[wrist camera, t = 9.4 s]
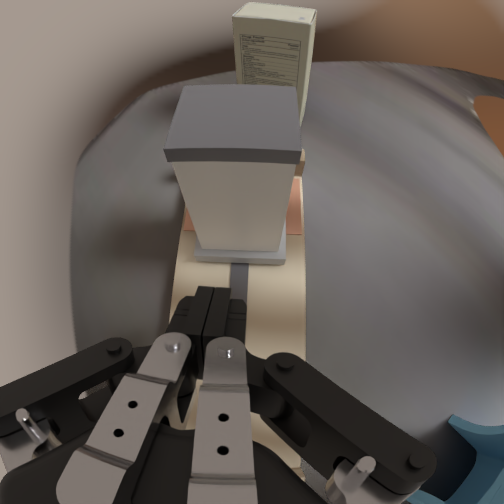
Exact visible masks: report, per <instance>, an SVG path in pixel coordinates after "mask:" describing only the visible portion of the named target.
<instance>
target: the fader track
mask: <svg viewBox="0 0 504 504" xmlns="http://www.w3.org/2000/svg"><path fill="white" fill-rule="evenodd" d="M304 164H305V153H304V150H302V154H301V159H300V163H299V165H297V164H296V168H295V173H294V178H293V183H292V188H291V193H290V198H289V203H288V208H287V213H286V261H285V264H284V265H278V264H252V263H229V262H206V261H196V259H195V257H194V250H195V242H196V231H195V228H194V226H193V223H192V220H191V217H190V215H189V212H188V209H187V206H186V204H185V210H184V216H183V222H182V228H181V234H180V241H179V247H178V254H177V261H176V268H175V276H174V284H173V292H172V300H171V309H170V319H169V323H170V321H171V318H172V316H173V315H174V312H175V310H176V307H177V305H178V303H179V301H180V300H181V299H183V298H184V297H185V296H195V293H196V290H197V288H198V286H211V287H227V288H232V299H243V300H244V302H245V304H246V305H247V321H246V340H245V347H246V349H247V350H248V351H249V352H250V353H251V354H252V355H254V356H256V357H259V358H263V359H267V358H268V357H269V356H270V355H272V354H274V353H279V352H288V353H292V354H295V355H297V356H299V357H300V358H301V359H303V360H304V361H305V351H306V279H305V239H304V213H303V193H302V173H303V168H304ZM202 383H203V380H199V379H197V381H196V391H197V394H196V398H195V401H194V404H193V407H192V410H191V413H190V417H189V420H188V423H187V426H186V429H185V430H190V429H195V426H196V416H197V406H198V396H199V388H200V385H202ZM250 413H251V429H252V440H253V441H255V442H258V443H260V444H262V445H264V446H266V447H268V448H269V449H271V450H272V451H273V452H275V453H276V454H277V455H278V456H279V457H280V458H281V459H282V460H283V461H284V462H285V463H286V464H287V465H288V466H289V467H290V468H291V469H292V470H293V471H294V472H295V473H296V474H297V475H298V476H299V477H300V478H301V479H302V480H303V481H304V482H305V475H304V473H303V472H302V470H301V468H300V463H301V457H300V456H299V455H298V454H297V453H296V452H295V451H294V450H293V449H292V448H291V447H290V446H288V445H287V444H286V443H285V442H284V441H283V440H282V439H281V438H280V437H279V436H278V435H277V434H276V433H275V432H274V431H273V430H272V429H271V428H270V427H269V426H268V425H267V424H266V423H265V422H264V421H263V420H262V419H261V417H260V415H259V414H256V413H253V412H250Z"/></svg>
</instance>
